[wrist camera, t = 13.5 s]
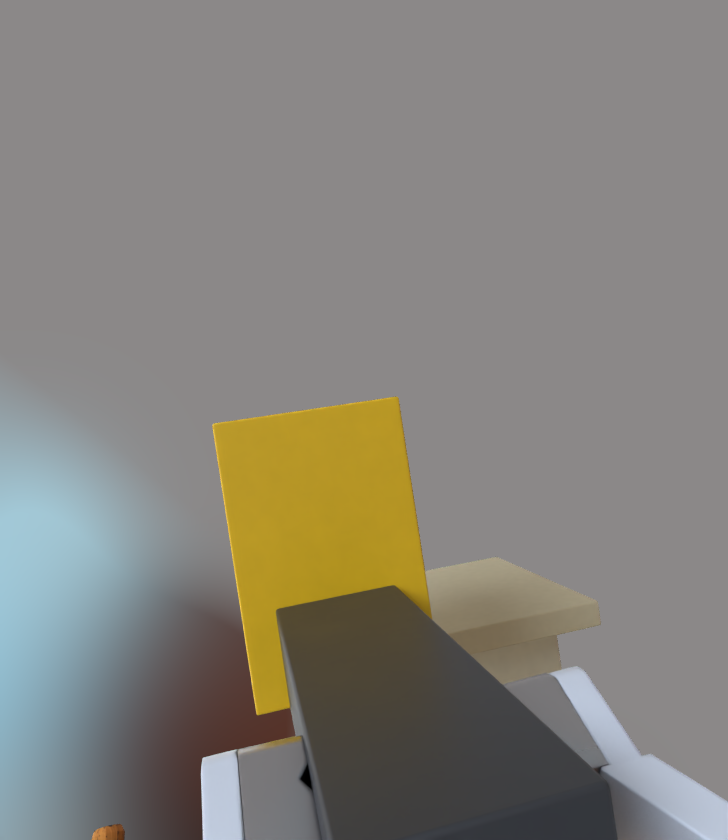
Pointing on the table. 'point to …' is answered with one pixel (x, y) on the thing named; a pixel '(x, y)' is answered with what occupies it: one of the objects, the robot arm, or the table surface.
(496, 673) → the stand
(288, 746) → the robot arm
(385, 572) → the hammer
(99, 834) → the mug
